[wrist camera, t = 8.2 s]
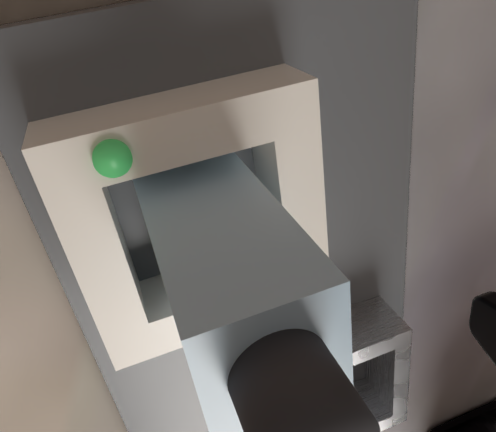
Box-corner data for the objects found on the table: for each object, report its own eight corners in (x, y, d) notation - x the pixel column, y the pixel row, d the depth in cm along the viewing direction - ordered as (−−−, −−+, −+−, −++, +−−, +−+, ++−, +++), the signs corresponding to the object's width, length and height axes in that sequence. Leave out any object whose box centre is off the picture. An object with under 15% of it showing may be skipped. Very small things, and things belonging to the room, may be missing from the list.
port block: (284, 63, 15) (320, 79, 13) (303, 260, 19) (333, 297, 17) (28, 122, 13) (20, 153, 11) (110, 324, 17) (116, 375, 15)
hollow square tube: (378, 294, 21) (412, 329, 19) (378, 381, 25) (406, 420, 23) (255, 339, 20) (277, 382, 18) (271, 425, 23) (291, 470, 21)
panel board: (398, -49, 16) (420, -50, 15) (387, 379, 27) (399, 395, 26) (-41, 32, 13) (-51, 38, 12) (154, 475, 24) (157, 497, 23)
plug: (229, 147, 16) (414, 352, 7) (244, 230, 17) (406, 473, 9) (130, 173, 15) (209, 436, 7) (156, 257, 17) (244, 549, 8)
